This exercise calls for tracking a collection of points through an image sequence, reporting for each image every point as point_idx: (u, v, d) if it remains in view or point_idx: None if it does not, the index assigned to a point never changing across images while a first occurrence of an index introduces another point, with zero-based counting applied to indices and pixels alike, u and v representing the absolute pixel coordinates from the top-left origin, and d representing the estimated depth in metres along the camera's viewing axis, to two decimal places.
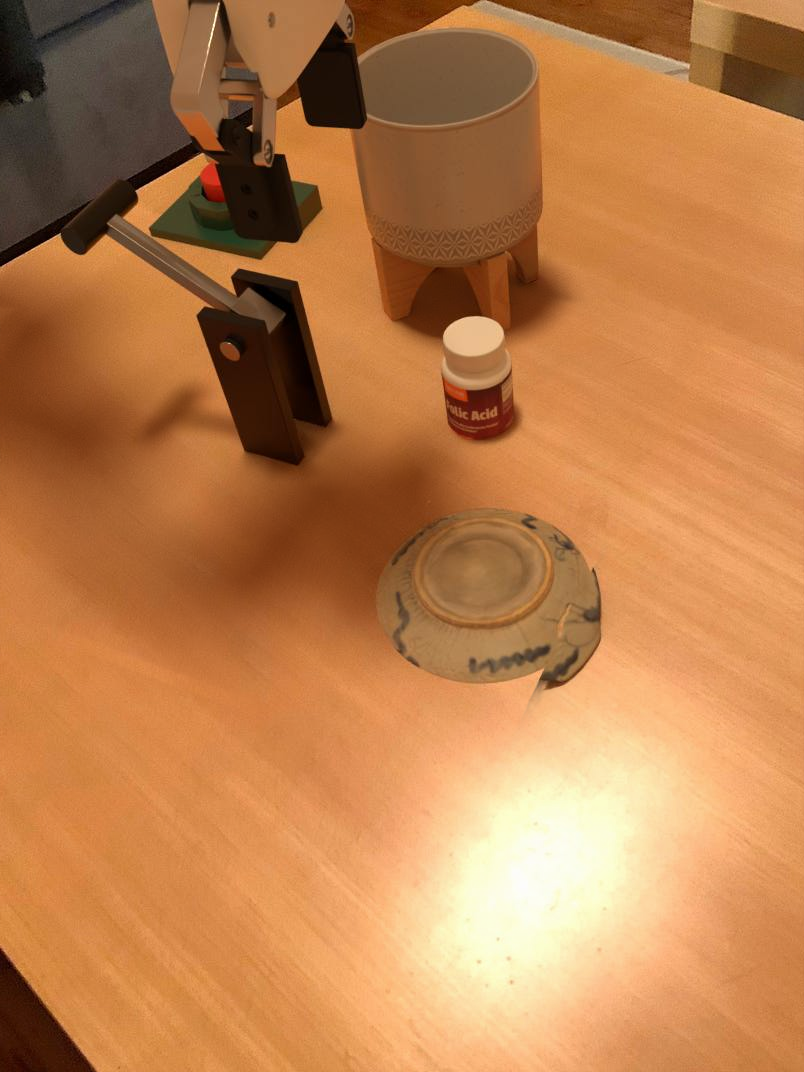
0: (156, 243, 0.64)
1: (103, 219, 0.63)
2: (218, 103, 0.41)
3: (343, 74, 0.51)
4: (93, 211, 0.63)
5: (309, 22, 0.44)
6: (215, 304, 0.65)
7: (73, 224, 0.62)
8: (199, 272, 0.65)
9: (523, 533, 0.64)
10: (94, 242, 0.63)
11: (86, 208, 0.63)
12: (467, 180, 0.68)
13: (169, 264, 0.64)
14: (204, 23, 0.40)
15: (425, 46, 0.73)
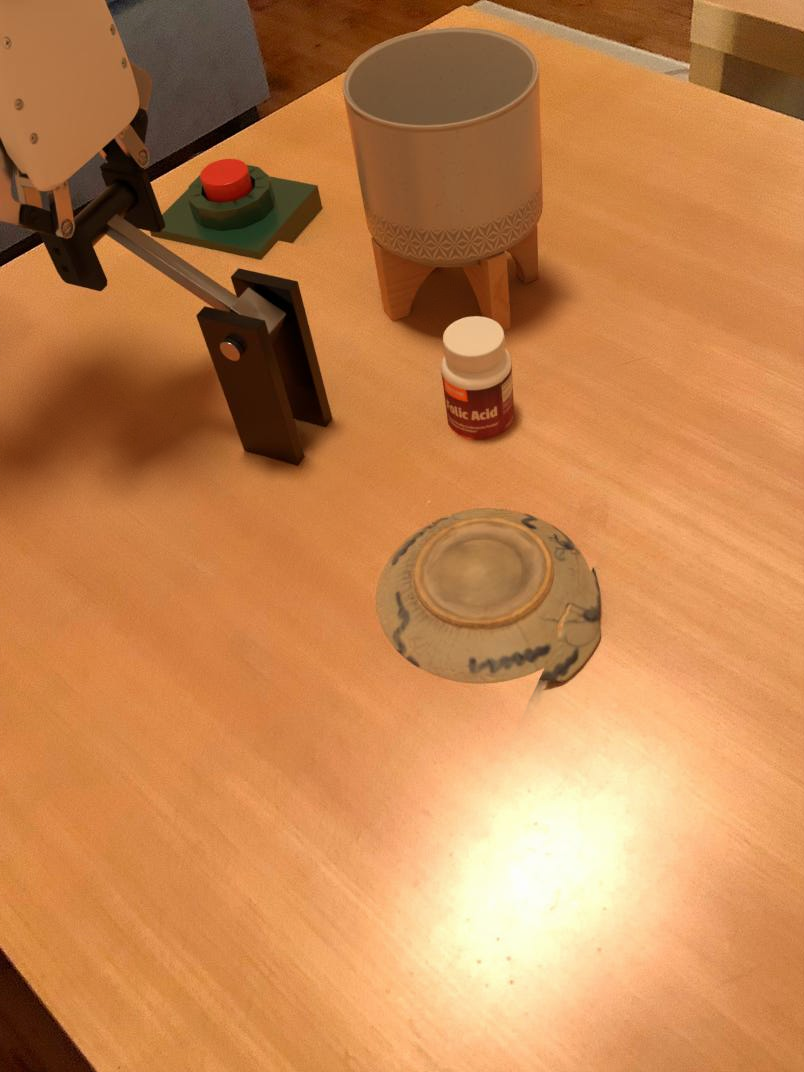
0: (156, 243, 0.64)
1: (103, 219, 0.63)
2: (13, 202, 0.57)
3: (138, 192, 0.65)
4: (93, 211, 0.63)
5: (83, 135, 0.58)
6: (215, 304, 0.65)
7: None
8: (199, 272, 0.65)
9: (523, 533, 0.64)
10: (94, 242, 0.63)
11: (86, 208, 0.63)
12: (467, 180, 0.68)
13: (169, 264, 0.64)
14: None
15: (425, 46, 0.73)
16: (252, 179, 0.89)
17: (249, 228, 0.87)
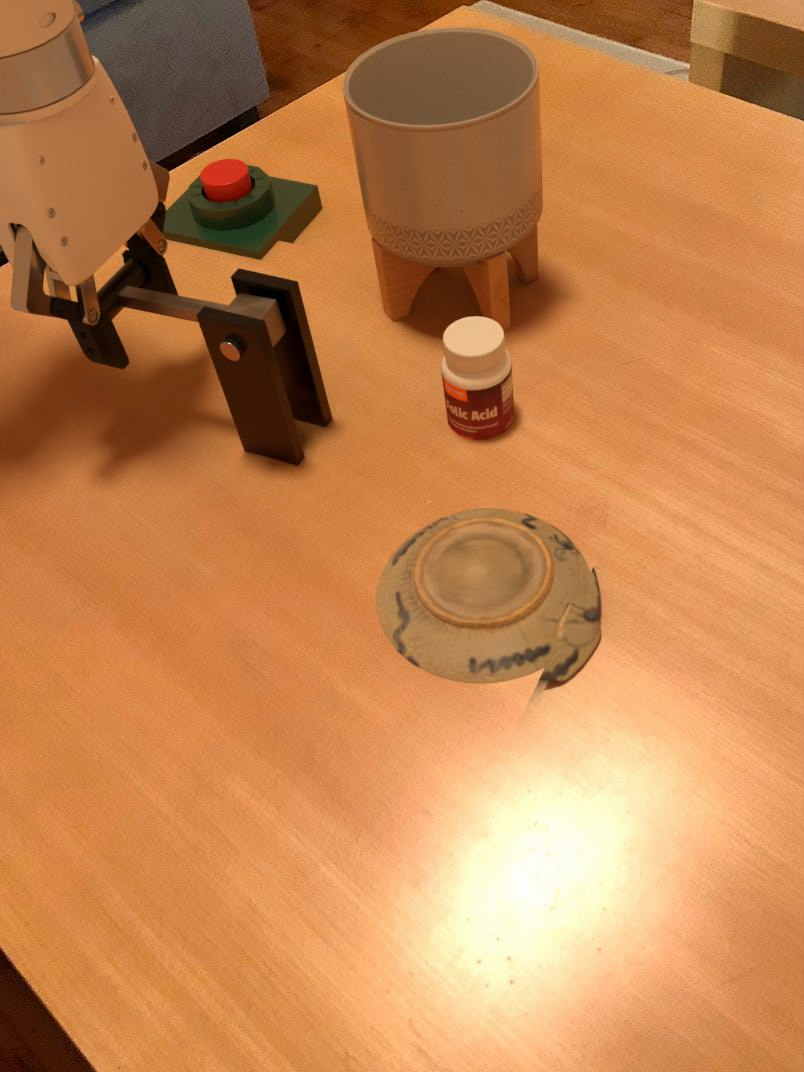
0: (160, 293, 0.68)
1: (113, 292, 0.68)
2: (45, 296, 0.63)
3: (157, 277, 0.70)
4: (103, 288, 0.68)
5: (107, 234, 0.63)
6: None
7: None
8: (198, 300, 0.67)
9: (523, 533, 0.64)
10: (108, 313, 0.68)
11: (99, 289, 0.69)
12: (467, 180, 0.68)
13: (171, 303, 0.67)
14: (24, 252, 0.61)
15: (425, 46, 0.73)
16: (252, 179, 0.89)
17: (249, 228, 0.87)
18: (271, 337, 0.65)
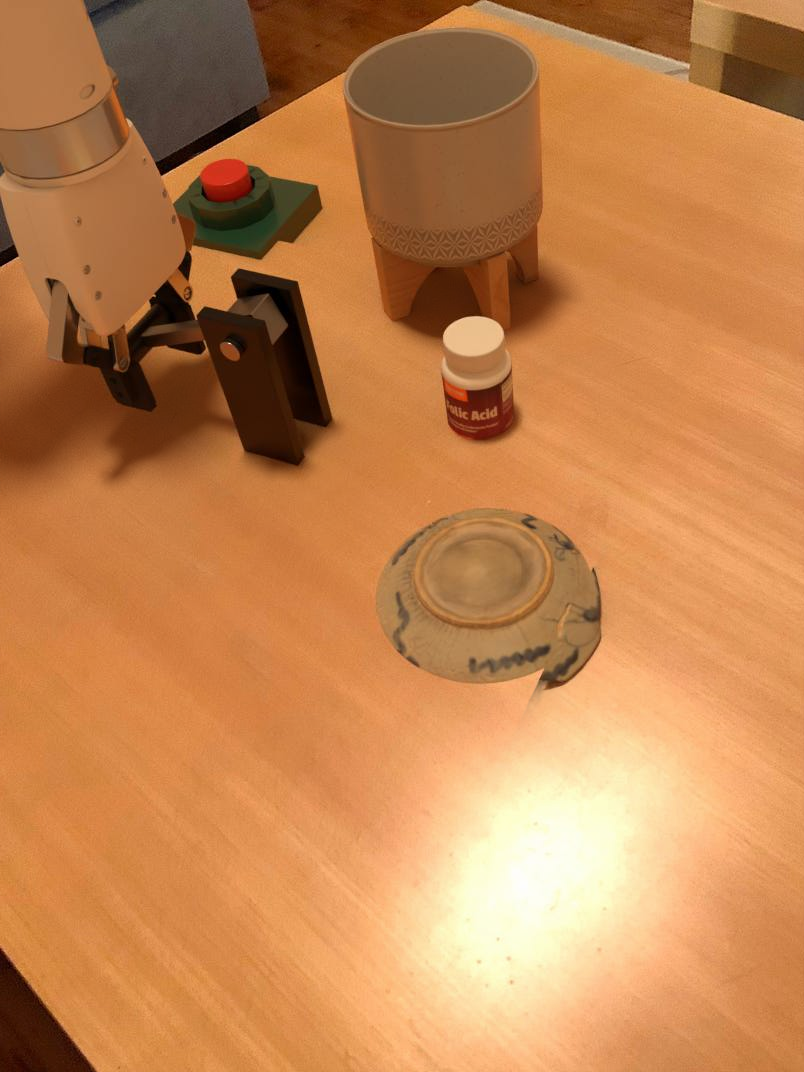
0: (175, 323, 0.70)
1: (136, 334, 0.71)
2: (78, 347, 0.65)
3: None
4: (127, 333, 0.71)
5: (138, 286, 0.66)
6: None
7: None
8: None
9: (523, 533, 0.64)
10: (133, 354, 0.70)
11: None
12: (467, 180, 0.68)
13: (183, 328, 0.68)
14: (60, 305, 0.63)
15: (425, 46, 0.73)
16: (252, 179, 0.89)
17: (249, 228, 0.87)
18: (270, 331, 0.65)
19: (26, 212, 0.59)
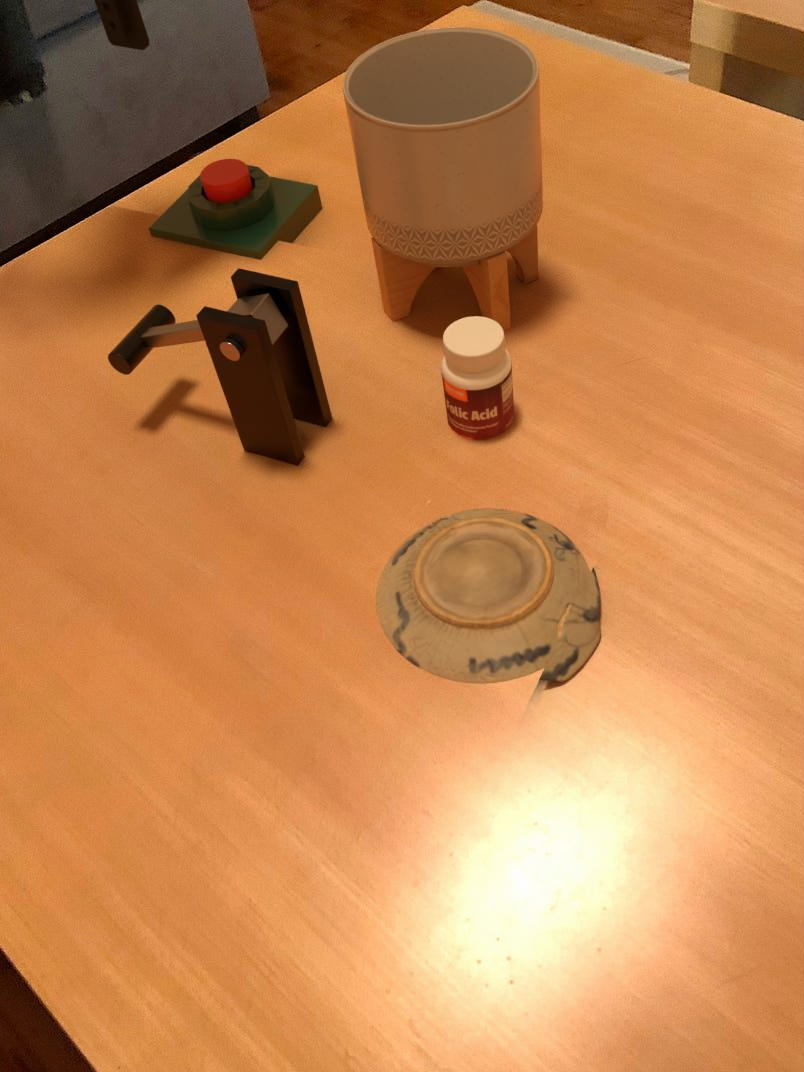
0: (175, 324, 0.70)
1: (136, 335, 0.71)
2: None
3: None
4: (128, 334, 0.71)
5: None
6: None
7: (112, 350, 0.70)
8: None
9: (523, 533, 0.64)
10: (133, 354, 0.70)
11: None
12: (467, 180, 0.68)
13: (183, 328, 0.68)
14: None
15: (425, 46, 0.73)
16: (252, 179, 0.89)
17: (249, 228, 0.87)
18: (270, 331, 0.65)
19: None
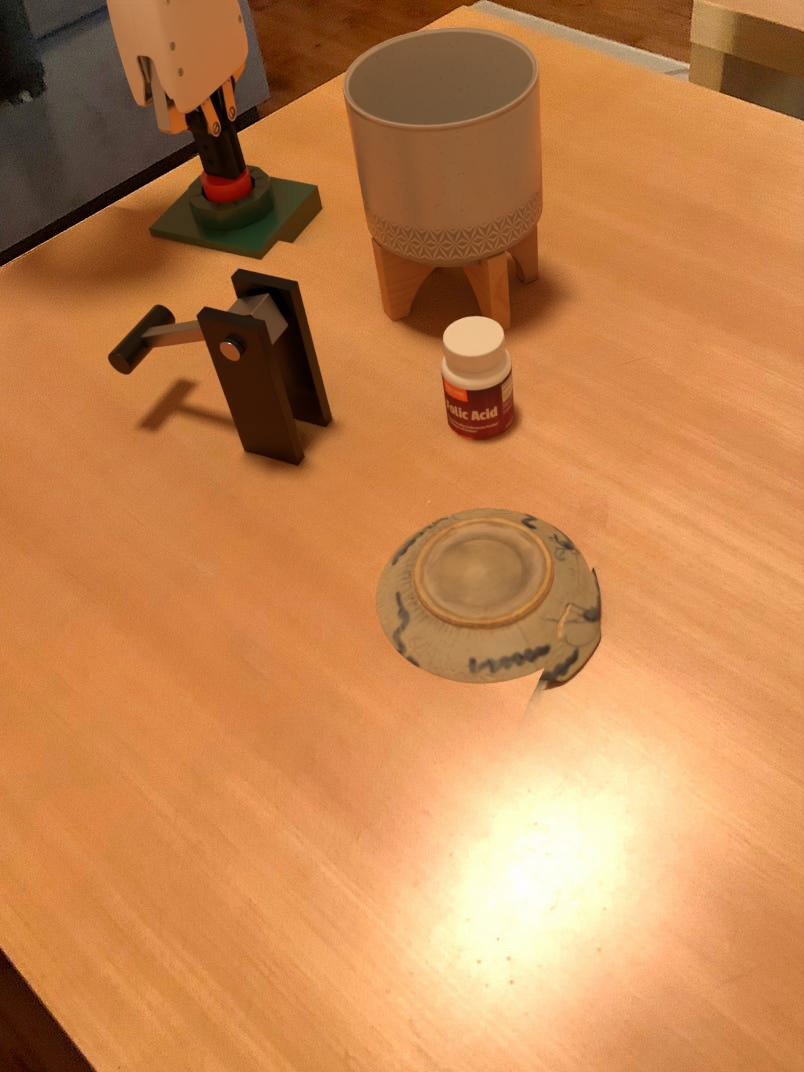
0: (175, 324, 0.70)
1: (136, 335, 0.71)
2: (180, 115, 0.79)
3: None
4: (128, 334, 0.71)
5: (211, 72, 0.78)
6: None
7: (112, 350, 0.70)
8: None
9: (523, 533, 0.64)
10: (133, 354, 0.70)
11: None
12: (467, 180, 0.68)
13: (183, 328, 0.68)
14: (158, 86, 0.77)
15: (425, 46, 0.73)
16: (252, 179, 0.89)
17: (249, 228, 0.87)
18: (270, 331, 0.65)
19: None
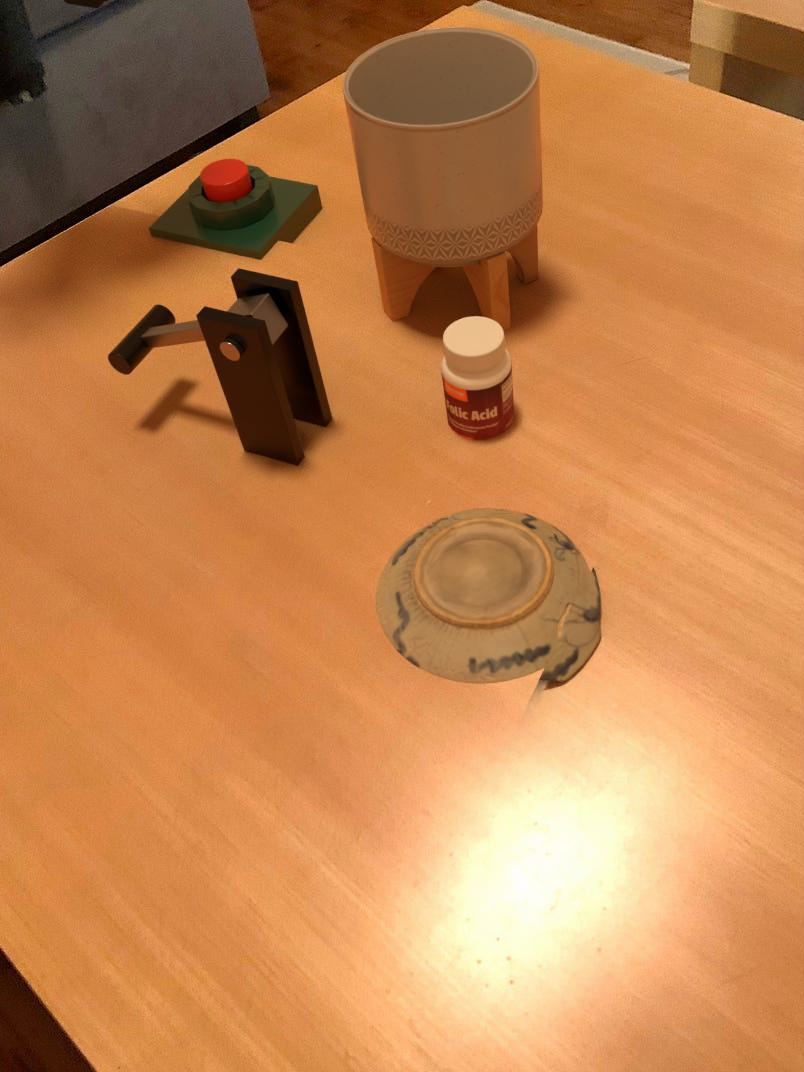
0: (175, 324, 0.70)
1: (136, 335, 0.71)
2: None
3: None
4: (128, 334, 0.71)
5: None
6: None
7: (112, 350, 0.70)
8: None
9: (523, 533, 0.64)
10: (133, 354, 0.70)
11: None
12: (467, 180, 0.68)
13: (183, 328, 0.68)
14: None
15: (425, 46, 0.73)
16: (252, 179, 0.89)
17: (249, 228, 0.87)
18: (270, 331, 0.65)
19: None
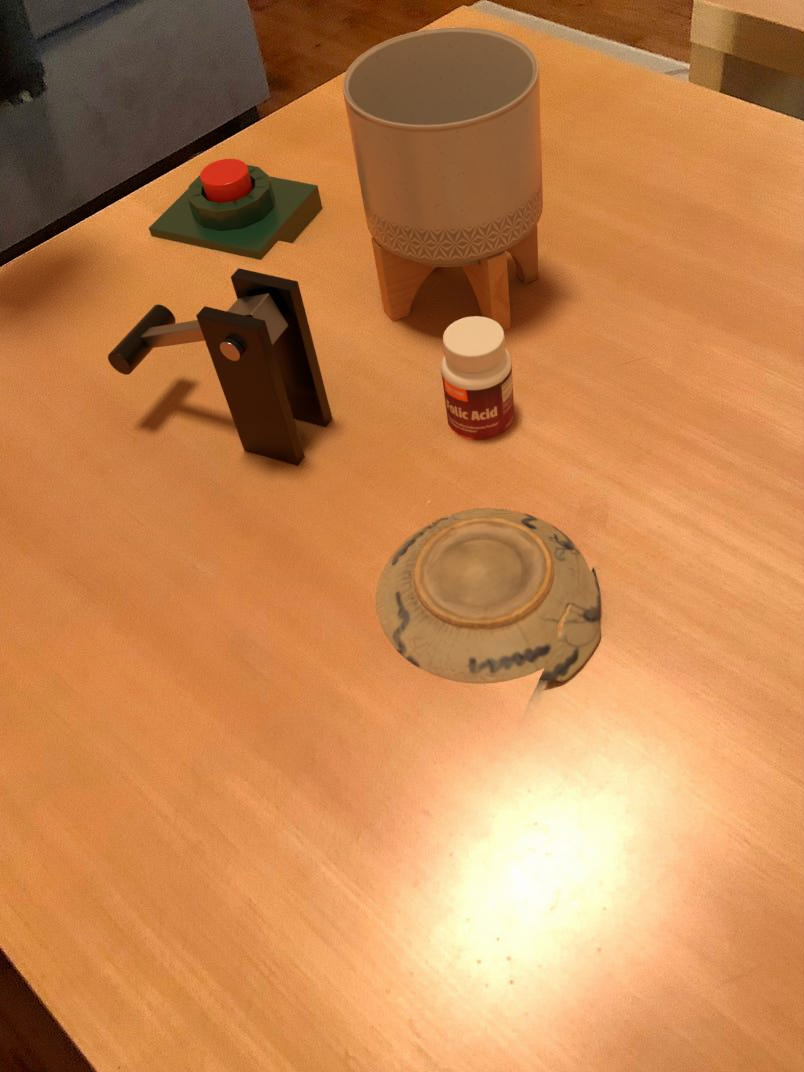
0: (175, 324, 0.70)
1: (136, 335, 0.71)
2: None
3: None
4: (128, 334, 0.71)
5: None
6: None
7: (112, 350, 0.70)
8: None
9: (523, 533, 0.64)
10: (133, 354, 0.70)
11: None
12: (467, 180, 0.68)
13: (183, 328, 0.68)
14: None
15: (425, 46, 0.73)
16: (252, 179, 0.89)
17: (249, 228, 0.87)
18: (270, 331, 0.65)
19: None
